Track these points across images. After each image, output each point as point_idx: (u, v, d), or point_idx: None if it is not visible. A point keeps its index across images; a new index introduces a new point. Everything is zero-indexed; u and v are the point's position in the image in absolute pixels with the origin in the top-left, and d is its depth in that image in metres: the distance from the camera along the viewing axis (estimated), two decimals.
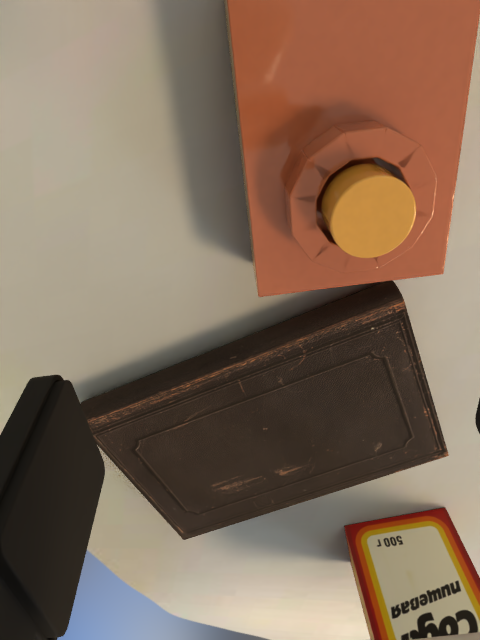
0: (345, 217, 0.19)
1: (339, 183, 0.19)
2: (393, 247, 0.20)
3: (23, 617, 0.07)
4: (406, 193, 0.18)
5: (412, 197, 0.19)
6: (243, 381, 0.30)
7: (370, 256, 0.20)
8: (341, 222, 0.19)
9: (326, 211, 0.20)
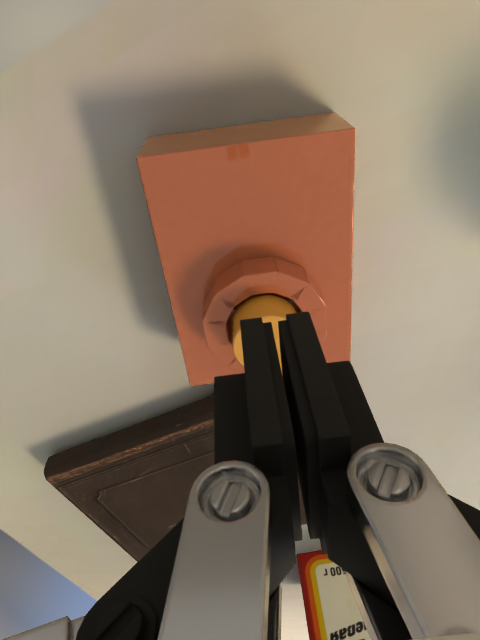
0: None
1: (240, 315, 0.23)
2: None
3: None
4: None
5: None
6: (189, 444, 0.34)
7: None
8: (241, 348, 0.23)
9: (232, 335, 0.23)
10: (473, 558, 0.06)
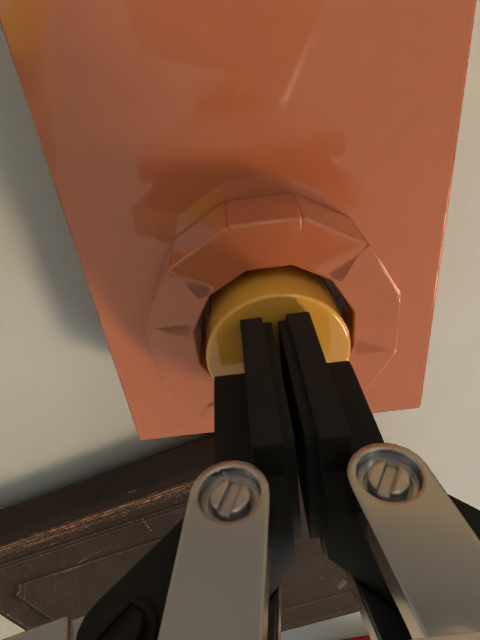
0: (230, 356, 0.11)
1: (222, 294, 0.11)
2: None
3: None
4: (330, 320, 0.11)
5: (341, 325, 0.11)
6: (149, 520, 0.22)
7: None
8: (224, 363, 0.11)
9: None
10: (473, 558, 0.06)
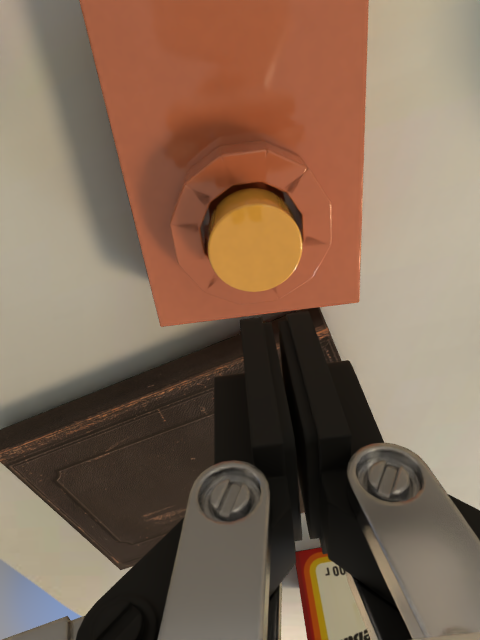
0: (223, 249, 0.17)
1: (218, 211, 0.17)
2: (282, 280, 0.18)
3: None
4: (288, 223, 0.17)
5: (295, 227, 0.17)
6: (163, 410, 0.28)
7: (258, 290, 0.18)
8: (220, 254, 0.17)
9: None
10: (473, 558, 0.06)
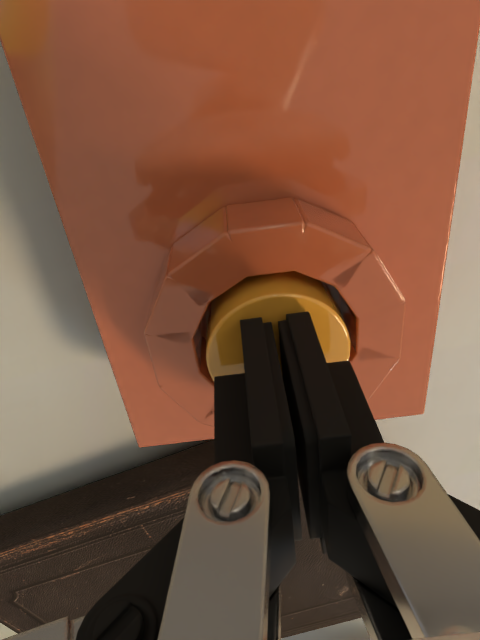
0: (230, 356, 0.11)
1: (222, 294, 0.11)
2: None
3: None
4: (330, 320, 0.11)
5: (341, 325, 0.11)
6: (148, 526, 0.22)
7: None
8: (224, 363, 0.11)
9: None
10: (473, 559, 0.06)
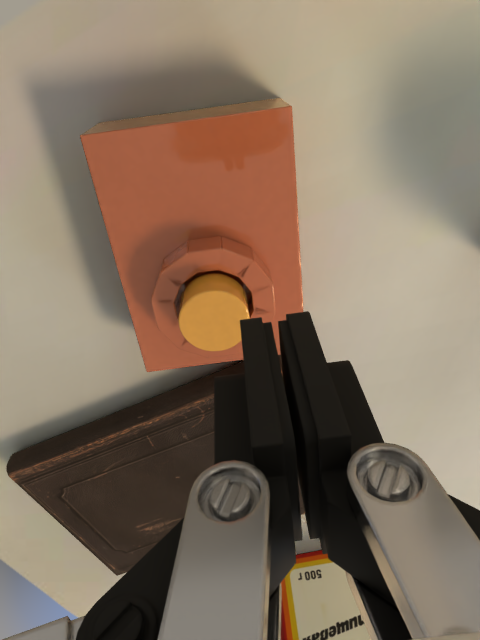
0: (190, 321, 0.23)
1: (187, 292, 0.23)
2: (235, 343, 0.24)
3: None
4: (237, 303, 0.22)
5: (243, 305, 0.22)
6: (151, 437, 0.34)
7: (218, 350, 0.24)
8: (187, 325, 0.23)
9: None
10: (473, 558, 0.06)
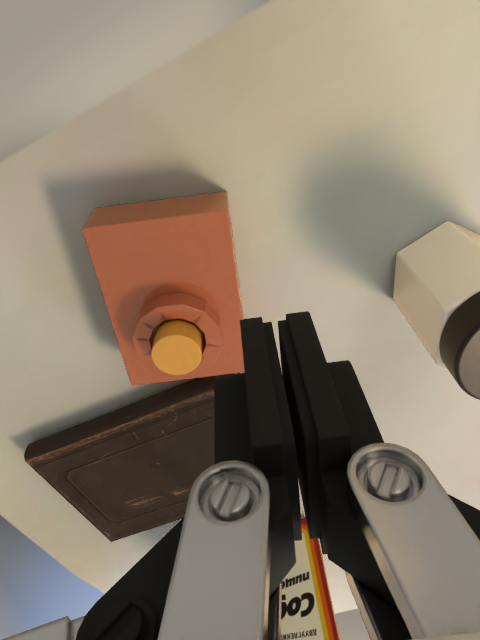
0: (159, 355, 0.32)
1: (157, 334, 0.33)
2: (192, 369, 0.33)
3: None
4: (192, 343, 0.32)
5: (196, 345, 0.32)
6: (137, 432, 0.44)
7: (179, 374, 0.34)
8: (157, 357, 0.33)
9: None
10: (473, 558, 0.06)
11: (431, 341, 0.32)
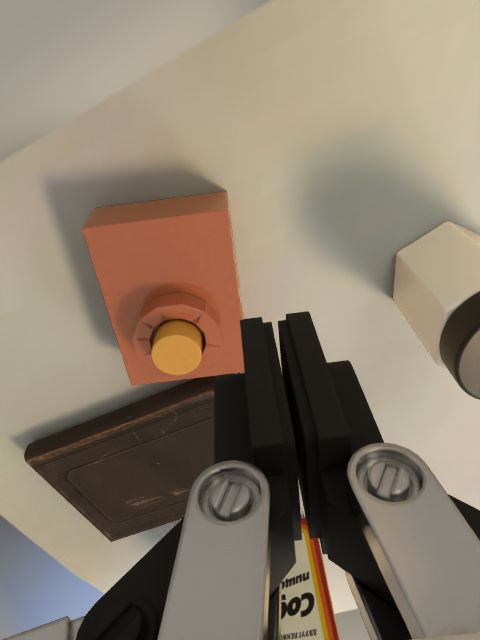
0: (159, 355, 0.32)
1: (157, 334, 0.33)
2: (192, 369, 0.33)
3: None
4: (192, 343, 0.32)
5: (196, 345, 0.32)
6: (137, 432, 0.44)
7: (179, 374, 0.34)
8: (157, 357, 0.33)
9: None
10: (473, 558, 0.06)
11: (431, 341, 0.32)
